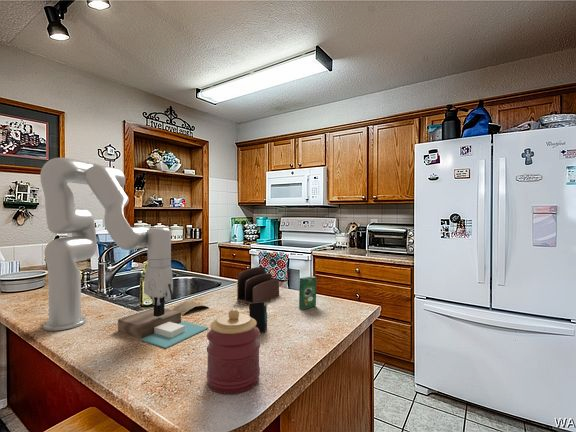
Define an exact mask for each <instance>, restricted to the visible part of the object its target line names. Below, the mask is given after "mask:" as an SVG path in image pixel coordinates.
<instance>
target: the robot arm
mask: <svg viewBox="0 0 576 432" xmlns="http://www.w3.org/2000/svg"><path fill="white" fill-rule="evenodd" d="M39 177H40V184H41V188H42V190H43V195H44V208H45V215H46V217H45V218H46V224H47V225H46V226H47V228H48V231H50V233H53V234H56V235H58V234H59V235H64V234H67V235H68V234H71V236H64V237H59V238H55V239H52V240H51V241H49V242H48V243H47V244H46V246H45V247H44V252H43V253H44V259H45V263H46V266H47V277H48V278H47V279H48V281H47V282H48V321H46V322H45V323H43V330H45V331H49V332H50V331H52V332H53V331H54V332H55V331H56V332H57V331H64V330H68V329H74V328H77V327H79V326H82V325H83V324H85V323H86V322H87V316H84V315H82V284H81V283H82V279H81V278H82V274H81V270H80V268H79V266H78V265H77V262H81V261H85V260H89V259H91V258H93V257H94V256H95V254H96V253H97V248H98V245H97V244H98V243H97V242H98V241H97V234H96V224H95V219H94V216H93V214H92V213H91V212H90V211H89V210H88V209H86V208H83V207H76V206H75V205H76V204H75V197H74V193H73V191H72V190H71V188H70V186H69V185H68V184H69V183H70V184H71V183H72V184H81V185H82V184H83V185H88V187H89V188H90V190H91V191H92V193H93V194H94V196H95V197H96V199H97V200H98V202H99V203H100V204H101V206H102V207H103V209H104V213H103V215H104V216H103V218H104V225H105V229H106V231H107V233H108V235H109V236H110V238H111V239H112V240H113V242H114V243H115V244H116V245H117V246H118V247H119V248H120V249H121V250H124V251H132V250H138V249H143V248H147V266H146V268H145V271H144V272H145V273H144V280H143V281H144V282H143V293H144V295H146V296H147V297H149V298H150V299H151V300H152V305H153V308H154V316H156V317H158V316H161V315H164V308H165V305H166V302H169V301H171V299H172V295H173V292H174V280H173V279H174V278H173V271H172V231H171V230H170V228H167V227H150V226H132V227H131V225H130V224H129V222H128V220H127V219H126V218H125V214H124V211H123V210H124V208H125V207H126V206H127V205H128V204H129V201H130V198H129V196H128V195H127V194H126V192H125V191H124V189H123V188H124V187H125V184H126V176H125V174H124V173H123V172H122V171H121V170H120V169H118V168H115V167H111V166H106V165H101V164H96V163H94V162H93V163H92V162H89V161H84V160H78V159H74V158H69V157H54V158H51V159H49V160H48V161H46V162H45V163H44V164H43V166H42V168H41V170H40V176H39Z"/></svg>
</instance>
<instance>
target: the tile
mask: <svg viewBox="0 0 576 432" xmlns="http://www.w3.org/2000/svg"><path fill="white" fill-rule="evenodd" d="M183 332H185V326H184V325H180V324H176V323H172V322H166V323H164V324H161V325H159V326H156V327H154V333H155V334H159V335H162V336H166V337H169V338H172V337H174V336H176V335H179V334H181V333H183Z"/></svg>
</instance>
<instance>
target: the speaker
mask: <svg viewBox="0 0 576 432" xmlns="http://www.w3.org/2000/svg"><path fill="white" fill-rule="evenodd" d="M248 308H249V309H248V310H249V311H248V313H249V316H250V317H251V318H253V319H255V320H256V322H257V324H256V327H257V328H258V329H259V330H260V334H264V333H266V329H267V328H268V311H267V310H268V308H267V304H266V303H265V301H262V302H256V303H249V304H248Z"/></svg>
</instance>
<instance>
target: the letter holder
mask: <svg viewBox="0 0 576 432" xmlns="http://www.w3.org/2000/svg"><path fill="white" fill-rule="evenodd" d="M236 284H237V289H236V292H237V293H236V294H237V295H236V298H237V299H236V301H237V302H238V303H242V304H247V305H249V303H256V302H265V301H267V300H270V299H272V298H276V297H277V296H279V295H280V281H279V279H273V275H272V273H266V268H265V266H256V267H251V268H248V269H245V270H242V271H240V272H239V273H238V274H237V283H236Z"/></svg>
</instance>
